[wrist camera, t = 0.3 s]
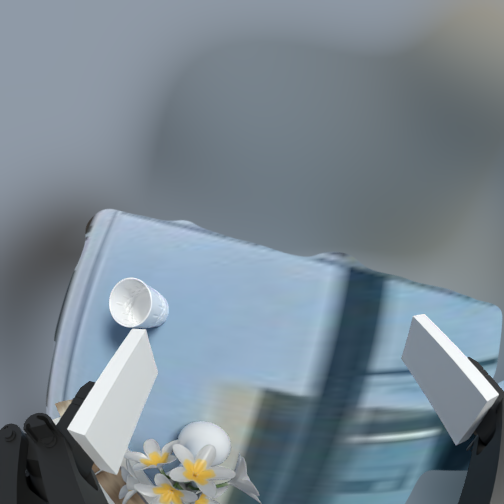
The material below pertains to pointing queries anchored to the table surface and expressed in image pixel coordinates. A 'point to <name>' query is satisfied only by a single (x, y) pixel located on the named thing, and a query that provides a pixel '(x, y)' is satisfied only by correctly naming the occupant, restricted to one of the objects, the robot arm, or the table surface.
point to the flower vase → (187, 468)
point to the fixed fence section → (114, 486)
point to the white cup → (137, 304)
